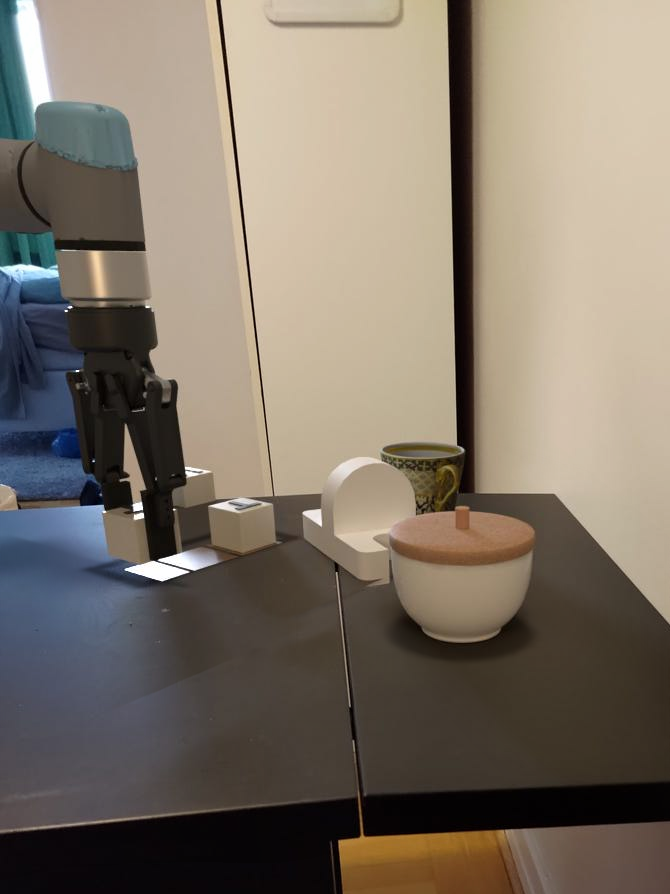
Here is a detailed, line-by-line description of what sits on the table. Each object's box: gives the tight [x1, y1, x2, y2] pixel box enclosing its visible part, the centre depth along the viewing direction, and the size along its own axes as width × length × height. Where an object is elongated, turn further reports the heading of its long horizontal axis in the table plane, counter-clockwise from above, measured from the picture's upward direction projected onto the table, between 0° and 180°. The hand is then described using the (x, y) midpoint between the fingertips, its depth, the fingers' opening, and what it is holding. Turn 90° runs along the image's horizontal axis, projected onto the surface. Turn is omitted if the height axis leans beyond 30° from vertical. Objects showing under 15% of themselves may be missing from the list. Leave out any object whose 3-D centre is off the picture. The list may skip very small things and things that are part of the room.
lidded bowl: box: [389, 505, 536, 644], centre depth 77 cm, size 13×13×11 cm
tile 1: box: [101, 502, 183, 566], centre depth 87 cm, size 5×5×5 cm
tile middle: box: [172, 466, 217, 509], centre depth 116 cm, size 5×5×5 cm
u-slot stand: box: [301, 456, 416, 587], centre depth 96 cm, size 10×18×11 cm, turn 30°
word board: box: [123, 540, 283, 582], centre depth 94 cm, size 8×20×1 cm, turn 146°
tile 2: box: [207, 497, 277, 553], centre depth 98 cm, size 5×5×5 cm
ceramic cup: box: [379, 441, 466, 516], centre depth 104 cm, size 13×10×10 cm
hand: (144, 551), depth 88 cm, fingers closed on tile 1, 5 cm apart
